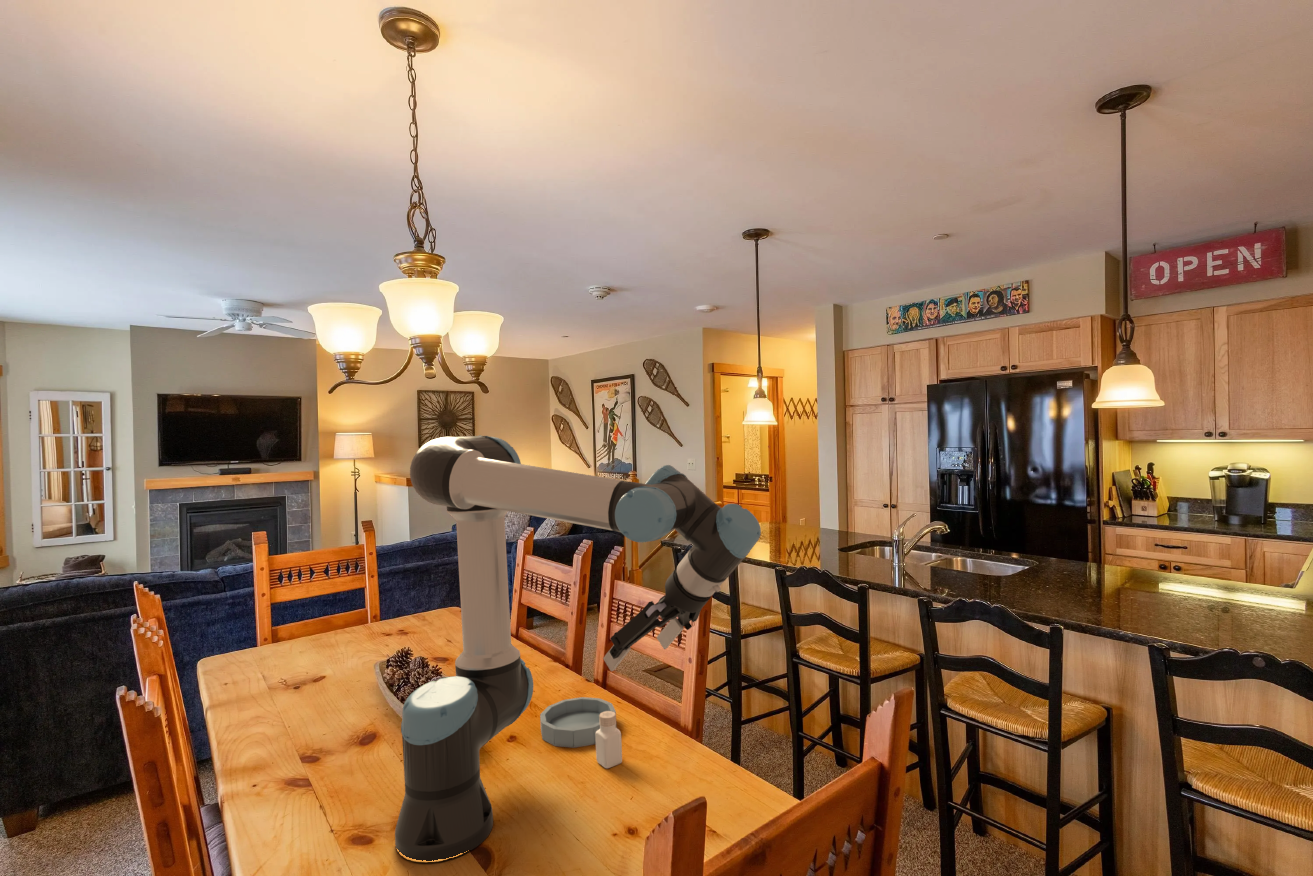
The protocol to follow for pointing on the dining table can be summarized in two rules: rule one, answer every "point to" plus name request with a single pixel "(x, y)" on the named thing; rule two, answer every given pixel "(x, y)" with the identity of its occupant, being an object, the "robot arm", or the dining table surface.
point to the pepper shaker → (608, 741)
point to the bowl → (573, 721)
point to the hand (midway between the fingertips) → (636, 653)
